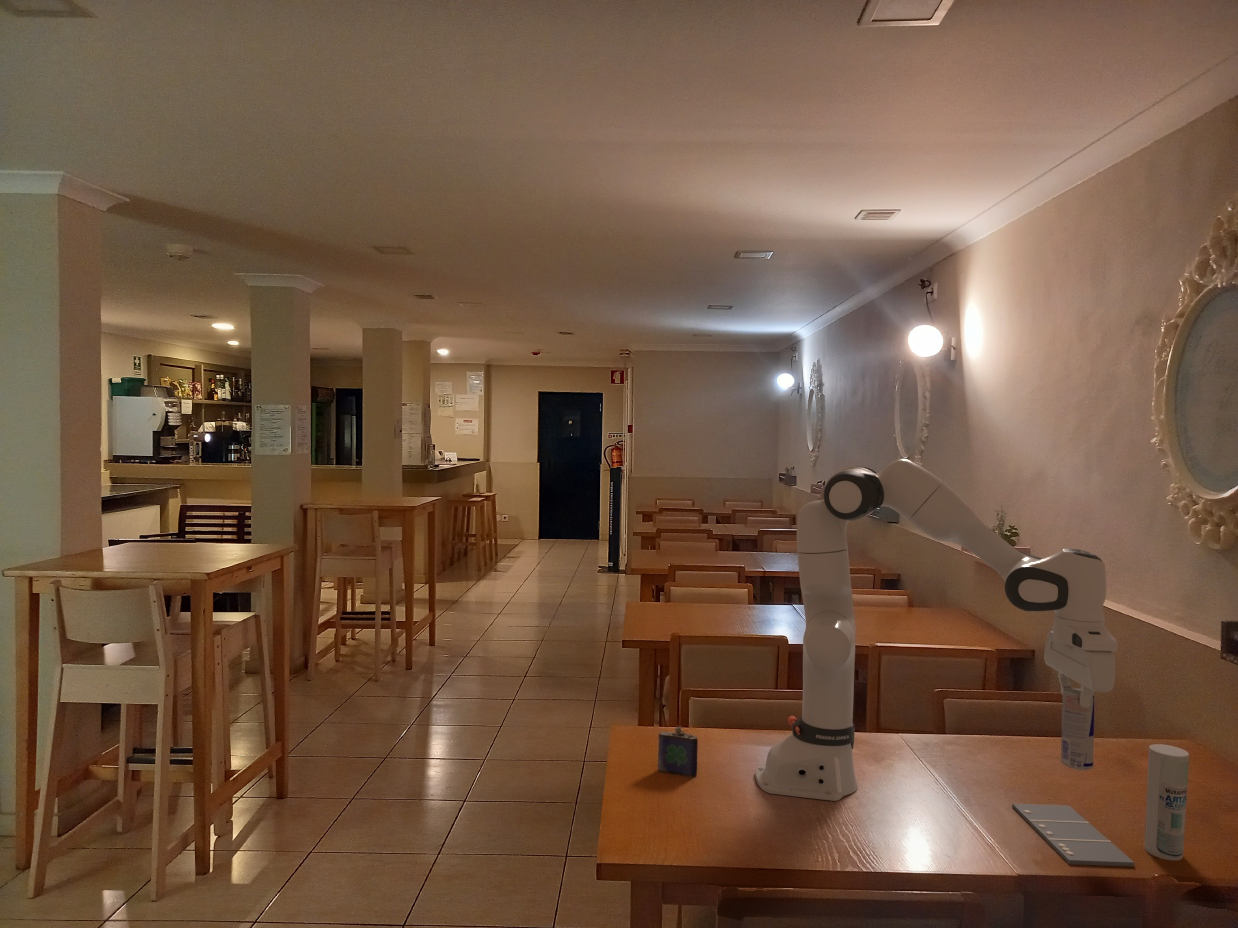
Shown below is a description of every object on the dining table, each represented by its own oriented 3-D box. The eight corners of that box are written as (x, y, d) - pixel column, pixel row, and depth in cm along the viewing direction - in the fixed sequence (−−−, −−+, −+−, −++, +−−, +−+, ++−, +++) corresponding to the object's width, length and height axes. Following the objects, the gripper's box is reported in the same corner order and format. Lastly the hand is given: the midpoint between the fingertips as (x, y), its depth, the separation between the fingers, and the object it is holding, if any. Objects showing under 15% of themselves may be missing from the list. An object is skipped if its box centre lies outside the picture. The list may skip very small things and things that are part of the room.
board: (1068, 863, 158) (1069, 859, 158) (1012, 806, 182) (1012, 802, 182) (1134, 866, 158) (1134, 861, 158) (1068, 808, 182) (1069, 804, 182)
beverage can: (1098, 771, 166) (1100, 694, 166) (1068, 770, 166) (1069, 693, 166) (1085, 762, 171) (1086, 687, 171) (1056, 760, 172) (1057, 686, 172)
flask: (656, 772, 196) (657, 726, 196) (659, 767, 199) (661, 722, 198) (695, 778, 193) (697, 731, 193) (698, 773, 196) (700, 727, 195)
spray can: (1166, 843, 168) (1171, 743, 167) (1192, 860, 161) (1197, 756, 160) (1135, 844, 167) (1141, 743, 166) (1160, 861, 160) (1166, 756, 160)
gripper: (1037, 619, 179) (1034, 684, 180) (1089, 643, 159) (1085, 717, 159) (1067, 620, 179) (1064, 685, 180) (1123, 644, 159) (1119, 718, 159)
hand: (1075, 700), depth 169 cm, fingers closed on beverage can, 5 cm apart
